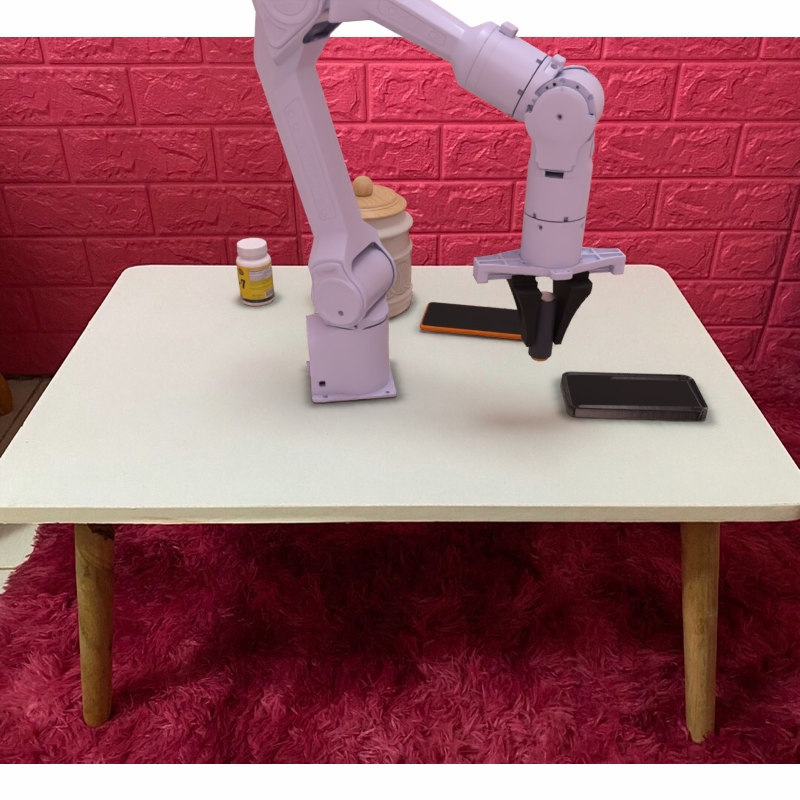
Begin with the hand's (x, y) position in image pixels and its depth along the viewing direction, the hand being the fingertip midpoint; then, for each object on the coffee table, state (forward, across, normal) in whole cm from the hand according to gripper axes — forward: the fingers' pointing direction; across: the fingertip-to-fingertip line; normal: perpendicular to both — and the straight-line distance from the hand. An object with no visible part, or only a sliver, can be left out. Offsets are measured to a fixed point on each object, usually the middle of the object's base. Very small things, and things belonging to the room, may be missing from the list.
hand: (540, 341), depth 79 cm
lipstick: (+2, 0, 0) cm, 2 cm away
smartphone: (+10, 0, +22) cm, 24 cm away
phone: (+10, +12, +2) cm, 15 cm away
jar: (+10, -15, +31) cm, 36 cm away
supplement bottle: (+10, -30, +34) cm, 46 cm away
